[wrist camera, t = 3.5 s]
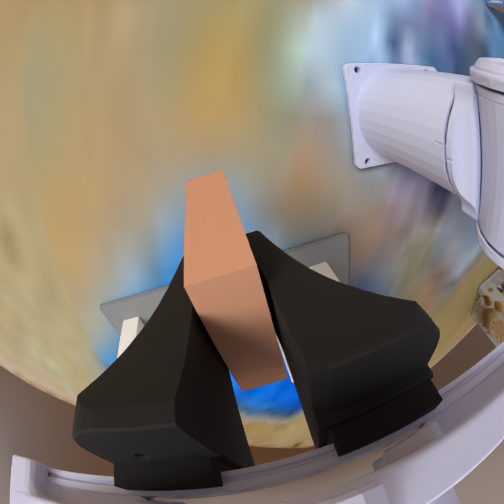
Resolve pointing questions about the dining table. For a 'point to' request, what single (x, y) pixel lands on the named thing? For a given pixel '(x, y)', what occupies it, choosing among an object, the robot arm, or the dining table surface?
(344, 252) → the domino mat
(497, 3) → the stack of blocks
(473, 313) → the coffee box
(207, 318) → the domino
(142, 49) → the dining table surface
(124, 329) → the domino
